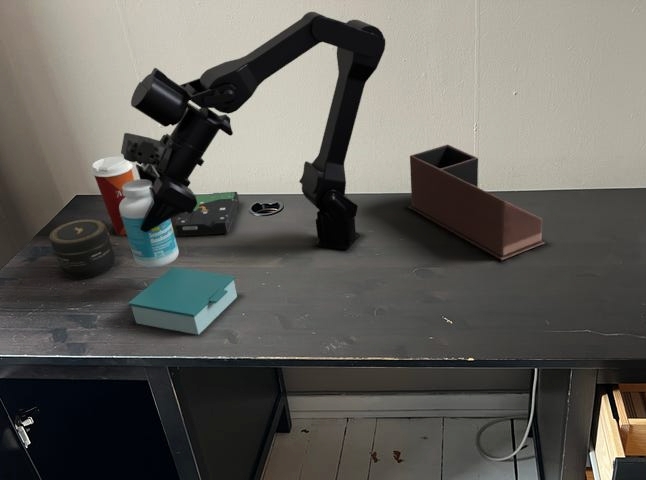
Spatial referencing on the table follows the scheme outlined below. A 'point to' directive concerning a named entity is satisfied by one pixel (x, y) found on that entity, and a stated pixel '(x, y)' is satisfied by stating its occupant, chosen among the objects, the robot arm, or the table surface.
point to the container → (184, 300)
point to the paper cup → (113, 186)
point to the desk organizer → (469, 204)
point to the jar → (82, 248)
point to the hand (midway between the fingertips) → (138, 221)
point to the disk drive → (209, 214)
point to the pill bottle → (155, 243)
